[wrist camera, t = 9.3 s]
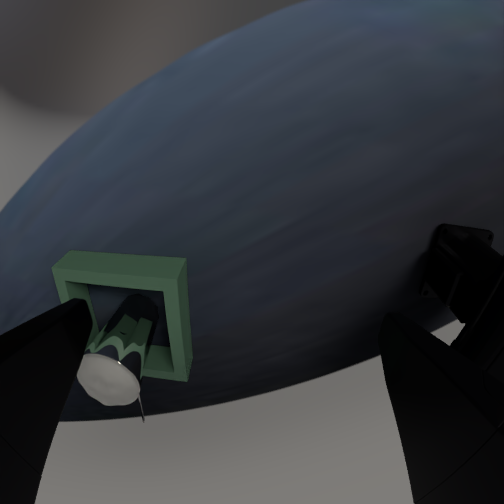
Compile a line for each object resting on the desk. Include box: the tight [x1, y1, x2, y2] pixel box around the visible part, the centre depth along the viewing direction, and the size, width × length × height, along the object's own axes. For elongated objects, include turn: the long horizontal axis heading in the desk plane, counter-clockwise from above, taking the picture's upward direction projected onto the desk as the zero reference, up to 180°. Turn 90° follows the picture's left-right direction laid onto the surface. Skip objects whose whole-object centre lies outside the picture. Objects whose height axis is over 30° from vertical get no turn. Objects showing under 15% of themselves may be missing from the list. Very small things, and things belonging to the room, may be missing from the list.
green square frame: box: [52, 250, 193, 382], centre depth 22 cm, size 10×10×3 cm
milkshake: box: [77, 294, 159, 423], centre depth 19 cm, size 4×5×10 cm
